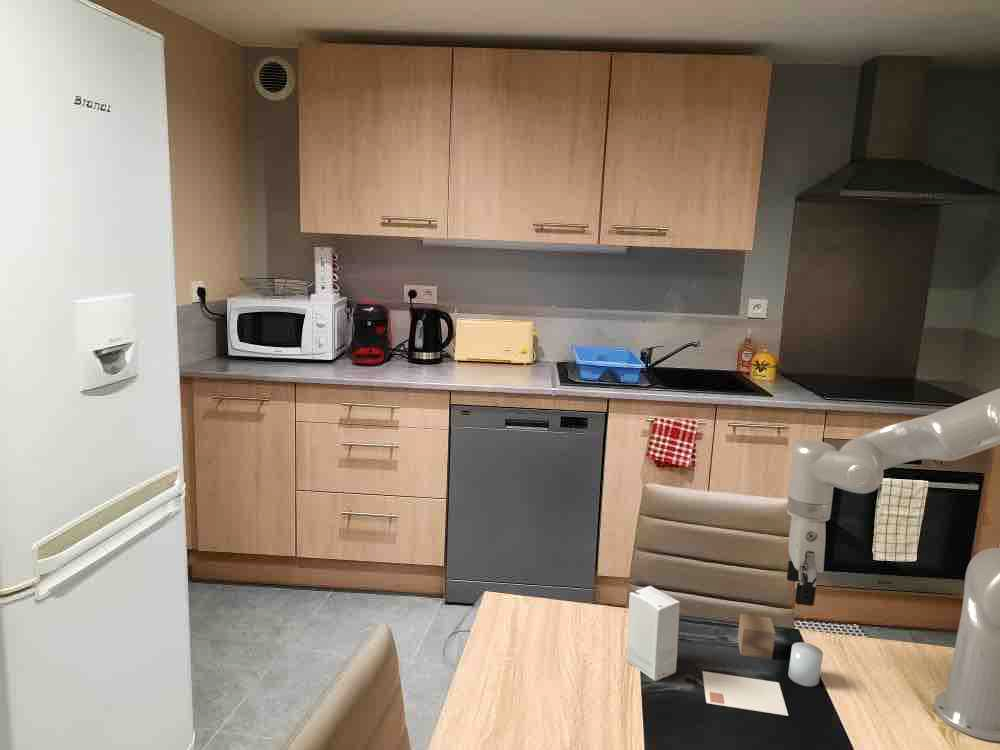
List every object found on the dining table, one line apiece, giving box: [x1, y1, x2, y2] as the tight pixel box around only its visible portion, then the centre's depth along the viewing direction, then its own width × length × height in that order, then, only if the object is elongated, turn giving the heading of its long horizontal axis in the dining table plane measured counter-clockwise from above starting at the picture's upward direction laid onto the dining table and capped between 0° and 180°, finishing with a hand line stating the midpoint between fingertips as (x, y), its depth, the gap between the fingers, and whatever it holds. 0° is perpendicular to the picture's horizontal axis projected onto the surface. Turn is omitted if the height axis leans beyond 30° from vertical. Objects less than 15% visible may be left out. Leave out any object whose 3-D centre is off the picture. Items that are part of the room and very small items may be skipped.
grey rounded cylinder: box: [787, 641, 824, 687], centre depth 143 cm, size 6×6×6 cm
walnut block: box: [737, 613, 776, 660], centre depth 152 cm, size 6×6×6 cm
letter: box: [701, 670, 789, 717], centre depth 138 cm, size 14×10×1 cm
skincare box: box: [625, 585, 681, 682], centre depth 144 cm, size 8×6×15 cm
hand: (799, 592), depth 143 cm, fingers open, 9 cm apart
